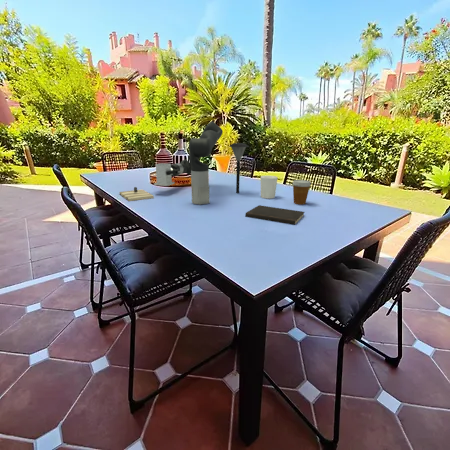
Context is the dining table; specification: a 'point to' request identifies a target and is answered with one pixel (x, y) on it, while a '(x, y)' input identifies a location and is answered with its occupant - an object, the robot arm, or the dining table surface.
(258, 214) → the hardcover book
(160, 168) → the sleeve
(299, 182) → the disposable coffee cup
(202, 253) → the dining table surface
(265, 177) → the white paper cup
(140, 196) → the base plate
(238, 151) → the solar garden light
